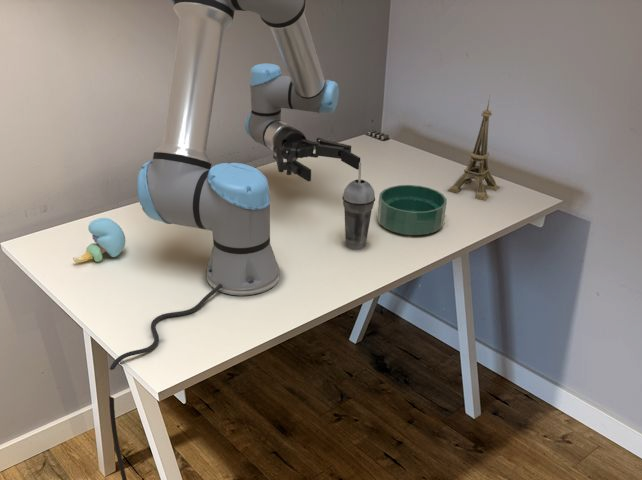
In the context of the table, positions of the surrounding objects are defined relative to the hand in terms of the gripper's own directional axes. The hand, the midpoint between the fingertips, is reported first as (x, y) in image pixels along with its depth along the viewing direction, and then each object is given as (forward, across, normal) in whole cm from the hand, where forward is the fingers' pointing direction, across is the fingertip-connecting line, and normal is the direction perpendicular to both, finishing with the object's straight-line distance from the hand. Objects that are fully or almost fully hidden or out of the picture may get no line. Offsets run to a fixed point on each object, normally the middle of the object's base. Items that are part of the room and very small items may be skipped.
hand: (334, 169), depth 154 cm
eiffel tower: (0, -46, -15) cm, 49 cm away
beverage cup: (+10, 0, -15) cm, 18 cm away
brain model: (-15, +52, -15) cm, 56 cm away
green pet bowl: (+7, -18, -15) cm, 25 cm away
